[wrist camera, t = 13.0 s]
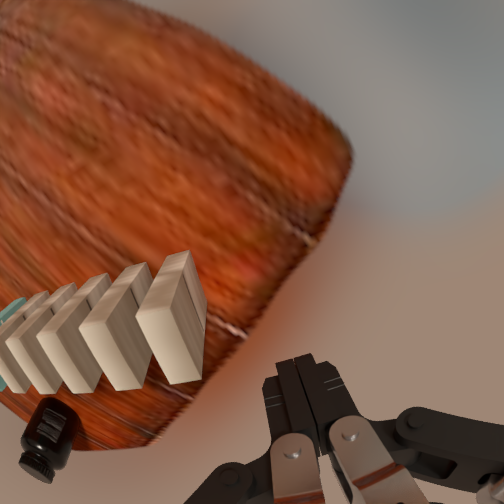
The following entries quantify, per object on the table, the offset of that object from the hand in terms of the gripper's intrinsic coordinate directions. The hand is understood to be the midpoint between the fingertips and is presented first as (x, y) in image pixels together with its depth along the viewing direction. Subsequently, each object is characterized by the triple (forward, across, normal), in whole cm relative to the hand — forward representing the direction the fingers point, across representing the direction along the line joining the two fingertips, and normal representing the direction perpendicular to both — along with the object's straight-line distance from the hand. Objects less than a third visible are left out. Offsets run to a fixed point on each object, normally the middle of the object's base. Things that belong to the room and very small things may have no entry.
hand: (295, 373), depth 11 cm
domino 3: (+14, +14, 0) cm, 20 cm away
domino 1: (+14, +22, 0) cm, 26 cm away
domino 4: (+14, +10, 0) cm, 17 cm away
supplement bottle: (+14, +32, +15) cm, 38 cm away
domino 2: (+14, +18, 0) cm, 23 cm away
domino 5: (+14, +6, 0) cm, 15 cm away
